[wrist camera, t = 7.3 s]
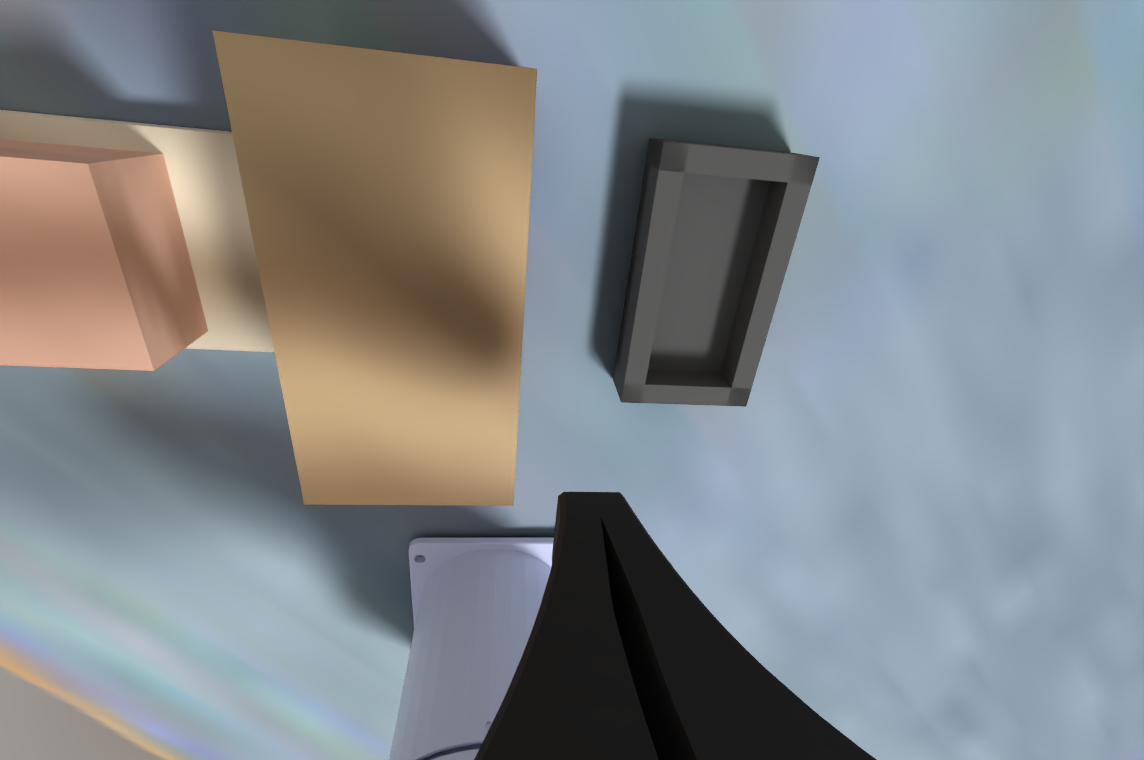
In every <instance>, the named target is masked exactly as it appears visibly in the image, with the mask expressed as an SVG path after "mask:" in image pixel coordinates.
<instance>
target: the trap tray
mask: <svg viewBox="0 0 1144 760" xmlns="http://www.w3.org/2000/svg"><path fill="white" fill-rule="evenodd" d="M819 158H820V157H814V156H808V155H802V154H796V153H789V152H779V151H770V150H760V149H750V148H741V147H731V146H721V145H712V144H702V143H692V142H683V141H673V140H663V139H654V138H650V139H649V145H648V152H647V159H646V165H645V172H644V179H643V185H642V192H641V199H640V205H639V212H638V218H637V225H636V232H635V238H634V245H633V252H632V258H631V265H630V272H629V278H628V285H627V292H626V298H625V305H624V312H623V318H622V325H621V331H620V338H619V345H618V351H617V358H616V365H615V371H614V378H613V381H614V383H615V386H616V389H617V392H618V395H619V397H620V400H621V402H629V403H659V404H689V405H720V406H746V405H747V401H748V398H749V395H750V391H751V388H752V385H753V381H754V378H755V374H756V371H757V368H758V364H759V361H760V357H761V354H762V351H763V347H764V344H765V341H766V337H767V334H768V330H769V327H770V324H771V320H772V317H773V313H774V310H775V307H776V303H777V300H778V297H779V293H780V290H781V286H782V283H783V280H784V276H785V273H786V270H787V266H788V263H789V259H790V256H791V253H792V249H793V246H794V242H795V239H796V236H797V232H798V229H799V226H800V222H801V219H802V215H803V212H804V209H805V205H806V202H807V198H808V195H809V192H810V188H811V185H812V182H813V178H814V175H815V171H816V168H817V165H818V161H819Z"/></svg>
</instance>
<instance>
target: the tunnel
mask: <svg viewBox="0 0 1144 760" xmlns="http://www.w3.org/2000/svg"><path fill="white" fill-rule="evenodd" d="M212 32H213V37H214V42H215V47H216V52H217V57H218V63H219V68H220V73H221V78H222V83H223V88H224V94H225V99H226V104H227V109H228V114H229V119H230V125H231V130H232V135H233V140H234V145H235V150H236V156H237V161H238V166H239V171H240V176H241V181H242V187H243V192H244V197H245V202H246V207H247V212H248V218H249V223H250V228H251V233H252V238H253V243H254V249H255V254H256V259H257V264H258V269H259V274H260V280H261V285H262V290H263V295H264V300H265V305H266V311H267V316H268V321H269V326H270V331H271V336H272V342H273V347H274V352H275V357H276V362H277V367H278V373H279V378H280V383H281V388H282V393H283V398H284V404H285V409H286V414H287V419H288V424H289V429H290V435H291V440H292V445H293V450H294V455H295V460H296V466H297V471H298V476H299V481H300V486H301V491H302V497H303V502H304V505H467V506H513V503H514V485H515V466H516V448H517V429H518V411H519V393H520V374H521V356H522V338H523V319H524V301H525V283H526V264H527V246H528V227H529V209H530V191H531V172H532V154H533V136H534V117H535V99H536V81H537V69H535V68H526V67H518V66H509V65H501V64H492V63H484V62H476V61H467V60H459V59H450V58H442V57H433V56H425V55H416V54H408V53H399V52H391V51H383V50H374V49H366V48H357V47H349V46H340V45H332V44H323V43H315V42H306V41H298V40H290V39H281V38H273V37H264V36H256V35H247V34H239V33H230V32H222V31H213V30H212Z"/></svg>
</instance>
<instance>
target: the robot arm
mask: <svg viewBox="0 0 1144 760" xmlns="http://www.w3.org/2000/svg"><path fill="white" fill-rule="evenodd" d="M408 552H409V566H410V579H411V593H412V606H413V620H414V634H413V639H412V644H411V649H410V654H409V660H408V665H407V670H406V675H405V680H404V685H403V691H402V696H401V701H400V706H399V711H398V717H397V722H396V727H395V732H394V737H393V742H392V748H391V753H390V758H389V760H876V759H875V758H874V757H872V756H871V755H869V754H868V753H867V752H865V751H864V750H863V749H861V748H860V747H859V746H857V745H856V744H855V743H854V742H852V741H851V740H850V739H848V738H847V737H846V736H845V735H843V734H842V733H841V732H840V731H838V730H837V729H836V728H835V727H833V726H832V725H831V724H829V723H828V722H827V721H826V720H824V719H823V718H822V717H821V716H819V715H818V714H817V713H816V712H815V711H813V710H812V709H811V708H810V707H809V706H808V705H806V704H805V703H804V702H803V701H802V700H801V699H800V698H798V697H797V696H796V695H795V694H794V693H793V692H792V691H790V690H789V689H788V688H787V687H786V686H785V685H784V684H783V683H781V682H780V681H779V680H778V679H777V678H776V677H775V676H773V675H772V674H771V673H770V672H769V671H768V670H767V669H765V668H764V667H763V666H762V665H761V664H760V663H759V662H758V661H757V660H756V659H755V658H754V657H753V656H752V655H751V654H750V653H749V652H748V651H747V650H746V649H745V648H744V647H743V646H742V645H741V644H740V643H739V642H738V641H737V640H736V639H735V638H734V637H733V636H732V635H731V634H730V633H729V632H728V631H727V630H726V629H725V628H724V627H723V625H722V624H721V623H720V622H719V621H718V620H717V619H716V618H715V617H714V616H713V615H712V613H711V612H710V611H709V610H708V609H707V608H706V607H705V606H704V604H703V603H702V602H701V601H700V600H699V598H698V597H697V596H696V595H695V594H694V593H693V591H692V590H691V589H690V588H689V587H688V585H687V584H686V583H685V582H684V580H683V579H682V578H681V577H680V576H679V574H678V573H677V572H676V570H675V569H674V568H673V566H672V565H671V564H670V563H669V561H668V560H667V559H666V557H665V556H664V555H663V553H662V552H661V551H660V549H659V548H658V547H657V545H656V544H655V542H654V541H653V540H652V538H651V537H650V535H649V534H648V533H647V531H646V530H645V528H644V527H643V525H642V524H641V522H640V521H639V519H638V518H637V516H636V515H635V513H634V512H633V510H632V509H631V507H630V506H629V504H628V503H627V501H626V500H625V498H624V497H623V495H622V494H621V493H620V492H563V493H562V494H561V495H559V496H558V504H557V513H556V523H555V532H554V538H416V539H414V540H412V541H411V542H410V546H409V550H408ZM417 555H422V556H423V557H420V556H417Z"/></svg>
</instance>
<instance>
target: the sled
mask: <svg viewBox="0 0 1144 760" xmlns="http://www.w3.org/2000/svg"><path fill="white" fill-rule="evenodd" d="M184 348H189V349H212V350H236V351H259V352H274V347H273V342H272V336H271V331H270V326H269V321H268V316H267V311H266V305H265V300H264V295H263V290H262V285H261V280H260V274H259V269H258V264H257V259H256V254H255V249H254V243H253V238H252V233H251V228H250V223H249V218H248V212H247V207H246V202H245V197H244V192H243V187H242V181H241V176H240V171H239V166H238V161H237V156H236V150H235V145H234V140H233V135H232V132H230V131H220V130H209V129H198V128H188V127H177V126H167V125H156V124H146V123H135V122H124V121H114V120H103V119H93V118H82V117H72V116H61V115H50V114H40V113H29V112H19V111H8V110H0V365H11V366H38V367H65V368H92V369H119V370H146V371H154V370H156V369H157V368H159V367H160V366H161V365H163V364H164V363H165V362H167V361H168V360H169V359H171V358H172V357H174V356H175V355H176V354H178V353H179V352H180V351H182V350H183V349H184Z"/></svg>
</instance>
